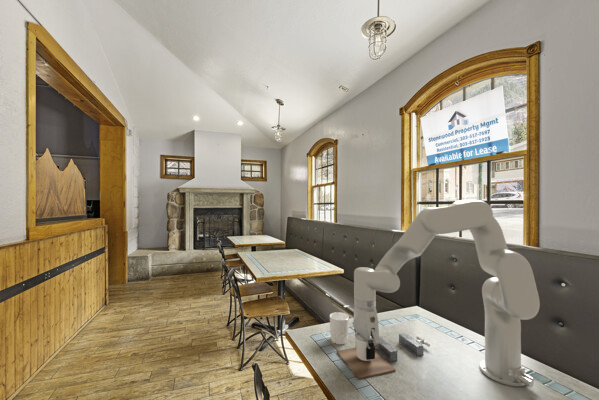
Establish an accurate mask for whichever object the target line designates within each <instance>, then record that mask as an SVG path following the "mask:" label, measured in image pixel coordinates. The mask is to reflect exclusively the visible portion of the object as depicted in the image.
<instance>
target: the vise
mask: <svg viewBox="0 0 599 400" xmlns="http://www.w3.org/2000/svg"><path fill="white" fill-rule="evenodd" d="M415 338H416V339H414V337H412V336H410V335H408V334H407V333H405V332H403V333H398V343H399V344H400V345H402V346H403V347H404V348H406V349H407V350H408V351H409V352H411V353H412V354H413V355H414V356H416V357H420V356H421V357H422V356H424V345H426V346H427V347H428V348H429V347H430V346H431V344H430V343H428V342H426V341H425V339H424V338H421V337H419V336H416V337H415ZM378 340H379V344H378V345H377V346H376V348H375V350H376V351H378V353H380V354H381V356H382V357H384V358H385V357H386V358H385V359H386V360H388V362H390V363H392V362H397V361H398V349H396V348H395V347H394V346H393V345H391V344H390V343H389V342H387V341H386V340H385V339H384V338H382V337H379V338H378Z"/></svg>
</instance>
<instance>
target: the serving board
mask: <svg viewBox="0 0 599 400" xmlns="http://www.w3.org/2000/svg"><path fill="white" fill-rule="evenodd" d="M336 354H337V355H338V357H340V359H341V360H342V361H343V362H344V364H346V366H347V367H348V368H349V370H350V371H351V372H352V373H353V375H354V376H355V377H356V378H357V380H362V379H363V380H365V379H367V378H368V379H369V378H371V377H372V378H373V377H376V376H382V375H386V374H389V373H394V372H396V369H395V367H393V366H392V365H391V363H389V361H387V359H386V358H383V356H382V355H380V354H379V352H377V350H375V359H372V360H370V361H364V360H361V359H359V358H358V357H357V351H356V347H352V348H347V349H342V350H336Z"/></svg>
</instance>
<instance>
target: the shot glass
mask: <svg viewBox="0 0 599 400" xmlns="http://www.w3.org/2000/svg"><path fill="white" fill-rule="evenodd" d="M354 338H355V348H356V351H357V357H358V358H359V359H361V360H364V361H370V360H367V359H366V348H367V343H366V339H365V338H364V337H362V336H361V335H360V334H359V333H357V334H356V335H355V334H354ZM369 338H371V336H370V337H369ZM369 343H370V344H371V343H372V340H369ZM371 360H372V359H371Z"/></svg>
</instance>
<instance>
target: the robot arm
mask: <svg viewBox="0 0 599 400" xmlns="http://www.w3.org/2000/svg"><path fill="white" fill-rule="evenodd" d="M468 230H469V232H470V233H471V236H472V238H473V241H474V245H475V249H476V254H477V259H478V262H479V263H478V264H479V266H480V268H481V270H483V272H485V273H487V274H489V275H491V276H492V277H490V278H487V279H486V280H485V281H484V283H483V284H482V287H481V294H482V300H483V306H484V307H483V308H484V309H483V310H484V359H483V360H481V361H480V362H479V369H480V371H481V372H482V374H484V375H485V376H486V377H488V378H490V379H492V380H493V381H495V382H497V383H499V384H503V385H506V386H509V387H510V386H511V387H519V388H520V387H524V386H527V387H529V388H533V387H534V381H535V378H534V377H533V376H531V375H529V374H527V373H526V368H525V366H522V340H521V339H522V336H521V335H522V334H521V333H522V323H521V322H522V321H521V320H524V321H525V320H526V321H527V320H531V319H533V318H535V317H536V316H537V314H538V313H539V310H540V306H541V303H540V296H539V292H538V289H537V284H536V280H535V276H534V272H533V269H532V266H531V264H530V262H529V261H528V260H527V258H525V256H524V255H522V254H521V253H520V252H516V251H514V250H510V249H509V247H508V243H507V241H506V238H505V235H504V232H503V229H502V227H501V225H500V223H499V221H498V220H497V219H496V218H495V217H494V212H493V209H492V207H491V205H489V203H487V202H485V201H484V200H479V199H478V200H477V199H460V200H456V201H455V202H453V203H451V204H450V205H447V206H440V207H434V206H433V207H432V206H431V207H425V208H423V209H422V210H420V211H419V212H418V214H417V215H416V217H415V218H414V219H413V221H412V222H411V224H410V225H409V226H408V228H407V229H406V230H405V231H404V233H403V234H402V236H401V237H400V238H399V240H398V241H397V242H395V243H394V244H393V246H392V247H390V249H389V250H388V251H386V252H385V254H384V256H383V257H382V258H381V259H380V261H379V262H378V264H377V265H376V266H375V268H374V269H373V268H372V267H371V268H370V267H368V266H367V267H365V266H364V267H362V266H360V267H357V268H355V269H354V271H353V298H354V299H353V302H354V303H353V307H354V308H353V321H352V326H353V331H354V336H355V335H356V334H357V333H359V334H360V335H361V336H362V337H364V338H365V339H366V343H367V348H366V359H367V360H371V359H375V351H376V349H375V348H376V346H377V345H378V344H379V340H378V338H379V336H380V332H379V331H380V329H379V317H378V311H377V308H376V307H377V301H376V300H377V297H376V296H377V295H376V293H377V292H381V293H387V294H391V293H396V291H398V290H399V288H401V287H400V286H401V279H400V278H399V275H398V274H397V273H398V272H399V271H400V270H401V268H402V267H403V266H404V265H405V264H406V263H407V262H409V261H410V260H412V259H414V258H418V257H420V256H421V255H422V254H423V253H424V252H425V250H427V248H428V246H429V245H430V243H431V242H432V241H433V240H434V239H435V237H436V236H437V235H446V234H447V235H448V234H450V233H451V234H452V233H453V234H454V233H457V232H459V233H460V232H464V231H468ZM370 336H371V338H369V337H370ZM369 340H372V343H371V344H370V343H369Z"/></svg>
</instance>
